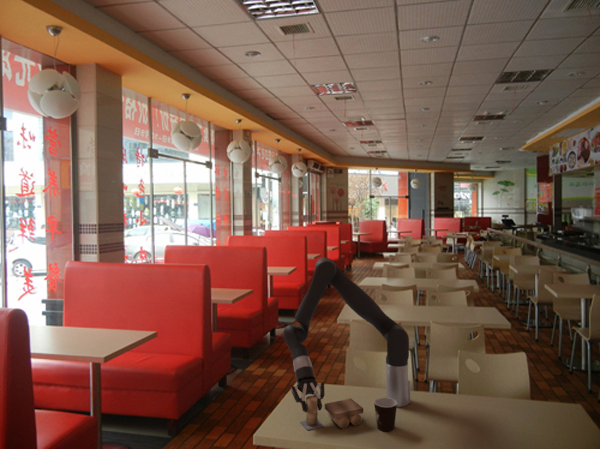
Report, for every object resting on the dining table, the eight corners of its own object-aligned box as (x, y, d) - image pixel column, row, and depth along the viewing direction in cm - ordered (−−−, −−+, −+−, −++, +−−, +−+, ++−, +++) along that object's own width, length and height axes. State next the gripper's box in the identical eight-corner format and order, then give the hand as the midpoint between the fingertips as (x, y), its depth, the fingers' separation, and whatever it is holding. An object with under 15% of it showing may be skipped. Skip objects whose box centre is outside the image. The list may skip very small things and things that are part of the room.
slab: (351, 413, 191) (351, 398, 191) (363, 424, 182) (363, 408, 182) (324, 419, 187) (324, 403, 186) (336, 430, 177) (335, 414, 177)
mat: (316, 419, 187) (316, 418, 187) (324, 426, 180) (323, 425, 180) (300, 422, 184) (300, 421, 184) (307, 430, 178) (307, 429, 178)
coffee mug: (397, 434, 173) (397, 407, 173) (374, 432, 175) (373, 406, 175) (397, 420, 185) (396, 395, 184) (375, 418, 186) (374, 393, 186)
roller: (314, 420, 185) (314, 395, 185) (319, 424, 181) (319, 399, 181) (304, 422, 184) (304, 397, 184) (309, 426, 180) (308, 401, 180)
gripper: (288, 367, 187) (297, 409, 176) (322, 363, 191) (332, 404, 180) (285, 376, 192) (293, 417, 181) (318, 371, 196) (328, 411, 185)
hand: (313, 410), depth 180 cm, fingers open, 5 cm apart
